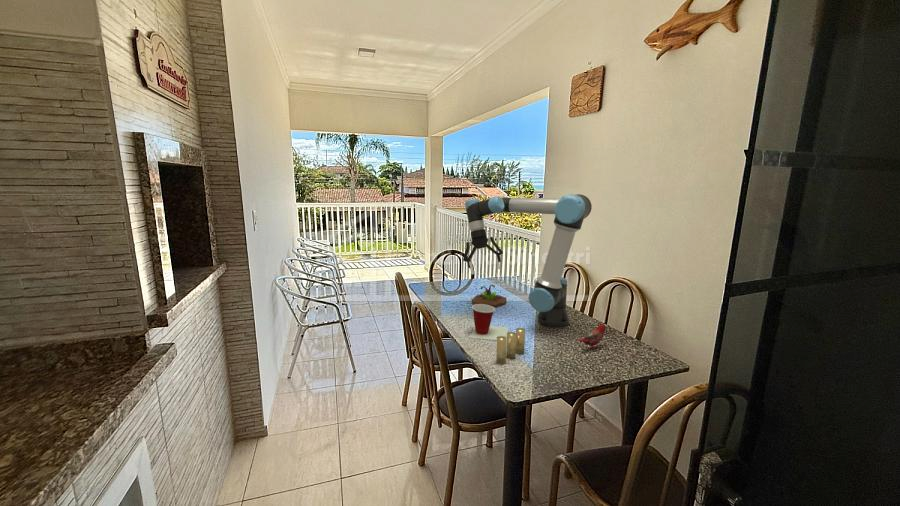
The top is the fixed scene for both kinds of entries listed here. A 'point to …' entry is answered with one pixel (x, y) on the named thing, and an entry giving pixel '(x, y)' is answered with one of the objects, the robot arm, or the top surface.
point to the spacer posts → (510, 345)
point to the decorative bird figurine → (594, 336)
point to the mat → (491, 333)
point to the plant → (489, 298)
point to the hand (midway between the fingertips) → (486, 271)
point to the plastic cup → (482, 317)
